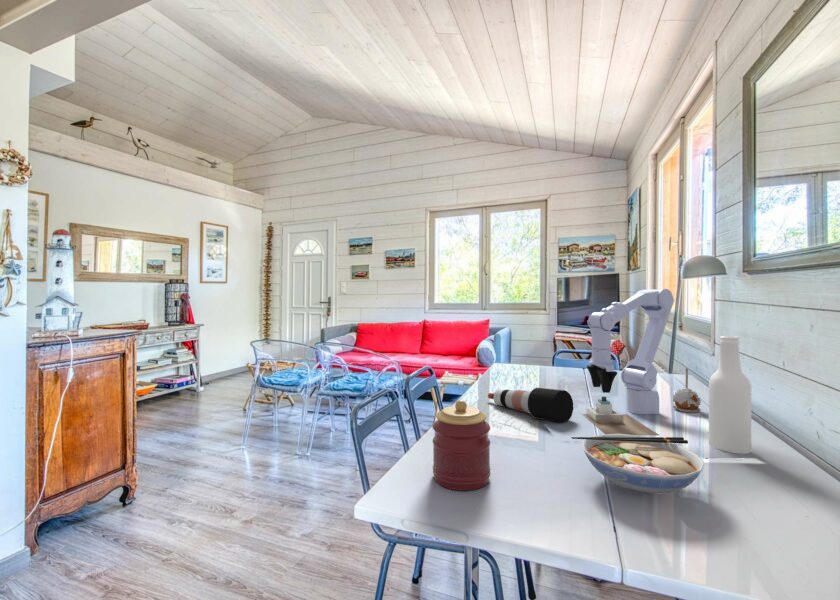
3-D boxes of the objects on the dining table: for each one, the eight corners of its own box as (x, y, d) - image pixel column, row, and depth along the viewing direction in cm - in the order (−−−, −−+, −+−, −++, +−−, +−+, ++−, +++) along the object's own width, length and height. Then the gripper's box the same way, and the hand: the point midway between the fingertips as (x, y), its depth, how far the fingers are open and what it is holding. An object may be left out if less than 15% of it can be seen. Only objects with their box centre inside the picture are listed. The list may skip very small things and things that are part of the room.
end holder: (612, 414, 132) (612, 407, 132) (623, 422, 124) (623, 414, 124) (586, 414, 133) (586, 407, 132) (595, 422, 124) (595, 414, 124)
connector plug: (607, 416, 130) (607, 395, 130) (612, 420, 126) (612, 398, 126) (596, 416, 130) (596, 395, 130) (600, 420, 126) (600, 398, 126)
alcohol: (748, 448, 105) (748, 335, 105) (753, 460, 98) (753, 338, 97) (707, 441, 110) (707, 334, 110) (709, 452, 102) (709, 337, 102)
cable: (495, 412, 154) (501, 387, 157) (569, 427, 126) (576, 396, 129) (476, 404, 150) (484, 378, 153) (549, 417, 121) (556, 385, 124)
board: (627, 417, 132) (627, 414, 132) (659, 438, 113) (659, 435, 113) (581, 416, 133) (581, 413, 133) (605, 437, 113) (605, 434, 113)
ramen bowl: (594, 510, 75) (594, 468, 75) (566, 461, 98) (566, 428, 98) (738, 519, 72) (738, 475, 72) (675, 466, 94) (675, 432, 94)
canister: (424, 470, 93) (423, 396, 93) (473, 462, 98) (472, 391, 97) (447, 496, 81) (446, 410, 81) (501, 485, 85) (501, 404, 85)
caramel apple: (696, 415, 134) (697, 371, 134) (670, 410, 140) (670, 368, 140) (702, 410, 140) (702, 368, 140) (677, 406, 145) (677, 365, 145)
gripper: (580, 345, 138) (581, 384, 138) (597, 351, 123) (597, 394, 123) (601, 345, 137) (601, 384, 138) (620, 351, 123) (620, 395, 123)
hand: (601, 389), depth 130 cm, fingers open, 7 cm apart
